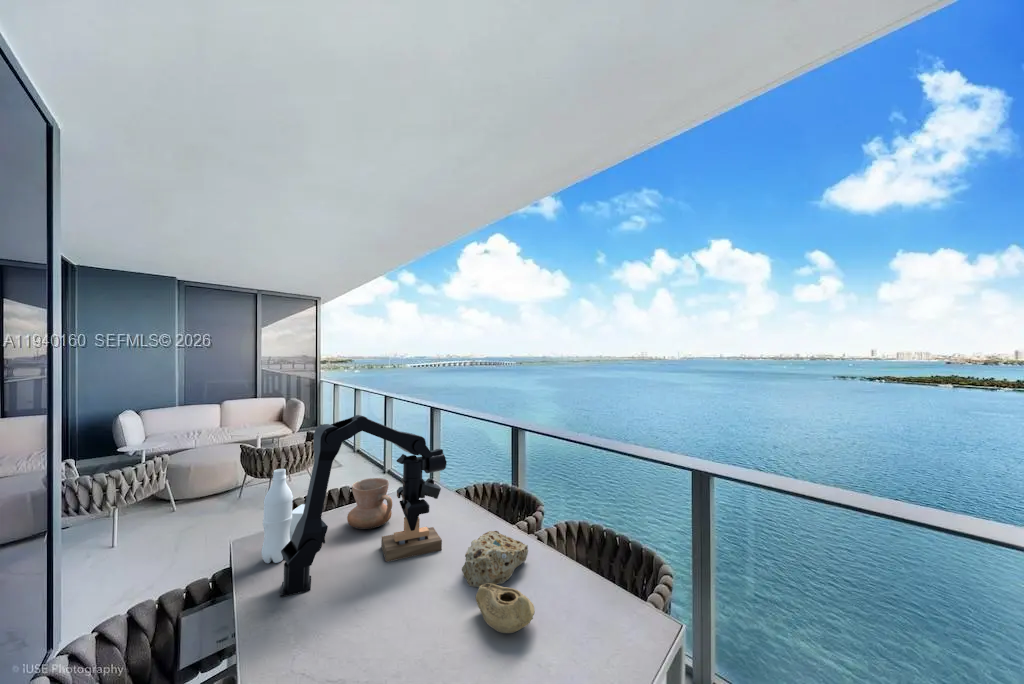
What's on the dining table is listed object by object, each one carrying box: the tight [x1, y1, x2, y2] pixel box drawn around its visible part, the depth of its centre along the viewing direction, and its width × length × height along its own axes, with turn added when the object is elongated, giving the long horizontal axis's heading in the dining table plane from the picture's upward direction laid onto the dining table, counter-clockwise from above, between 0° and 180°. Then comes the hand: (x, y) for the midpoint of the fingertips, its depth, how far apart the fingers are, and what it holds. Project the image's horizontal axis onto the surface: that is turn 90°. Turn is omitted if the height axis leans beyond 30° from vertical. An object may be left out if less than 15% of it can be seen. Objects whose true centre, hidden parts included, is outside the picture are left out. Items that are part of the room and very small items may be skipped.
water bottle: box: [261, 468, 294, 564], centre depth 110 cm, size 7×7×25 cm
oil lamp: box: [475, 583, 536, 634], centre depth 83 cm, size 11×15×8 cm
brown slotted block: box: [380, 526, 443, 563], centre depth 116 cm, size 10×16×3 cm, turn 116°
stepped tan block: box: [393, 516, 429, 545], centre depth 116 cm, size 3×10×8 cm, turn 116°
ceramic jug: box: [346, 477, 393, 530], centre depth 133 cm, size 18×14×14 cm
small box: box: [290, 503, 305, 540], centre depth 119 cm, size 8×6×10 cm
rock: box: [461, 530, 529, 588], centre depth 104 cm, size 21×14×10 cm
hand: (411, 528), depth 116 cm, fingers closed on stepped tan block, 3 cm apart
